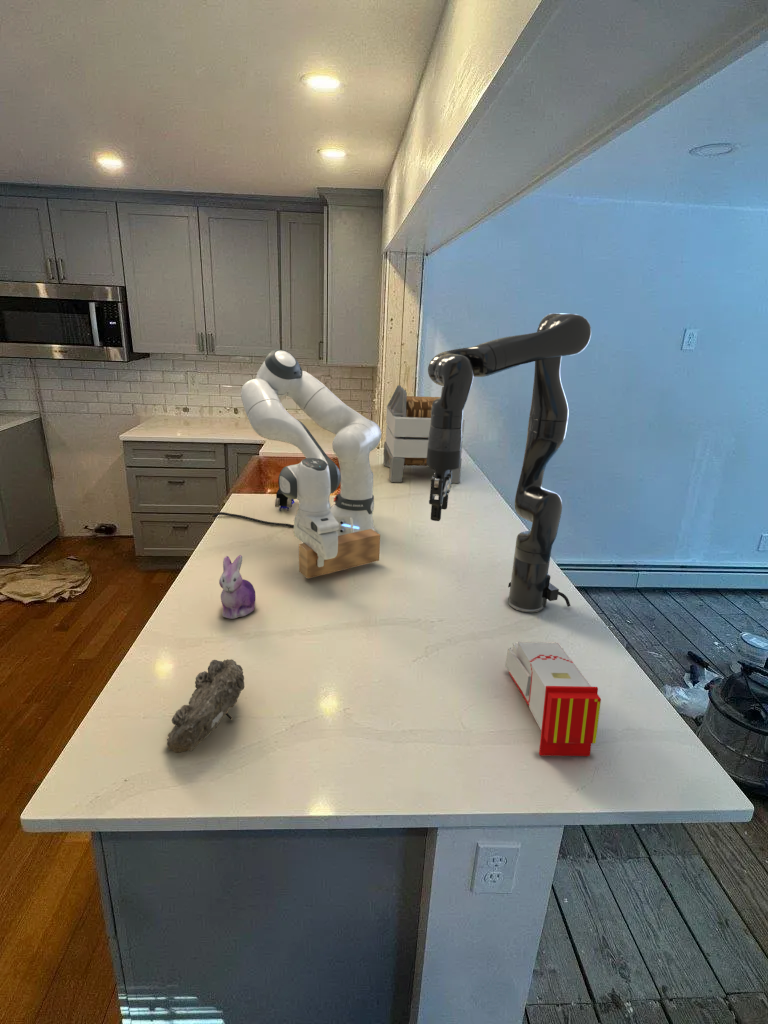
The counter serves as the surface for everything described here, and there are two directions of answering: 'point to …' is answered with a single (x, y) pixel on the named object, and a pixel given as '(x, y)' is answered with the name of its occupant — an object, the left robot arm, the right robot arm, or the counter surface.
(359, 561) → the bar
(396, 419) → the grey crate
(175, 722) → the fossil
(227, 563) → the figurine
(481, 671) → the counter surface
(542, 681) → the toy
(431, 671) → the counter surface
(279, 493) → the figurine character
